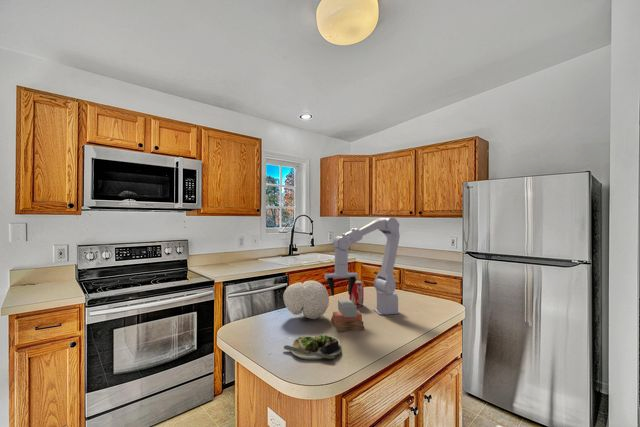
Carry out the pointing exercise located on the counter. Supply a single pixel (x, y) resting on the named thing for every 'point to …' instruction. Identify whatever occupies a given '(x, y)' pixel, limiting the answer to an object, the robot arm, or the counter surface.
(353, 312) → the gray block
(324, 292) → the white rounded lumpy piece
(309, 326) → the counter surface
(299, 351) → the salad plate
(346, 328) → the jig
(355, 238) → the robot arm
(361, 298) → the soda can
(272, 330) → the counter surface
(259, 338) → the counter surface
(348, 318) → the terracotta brick
